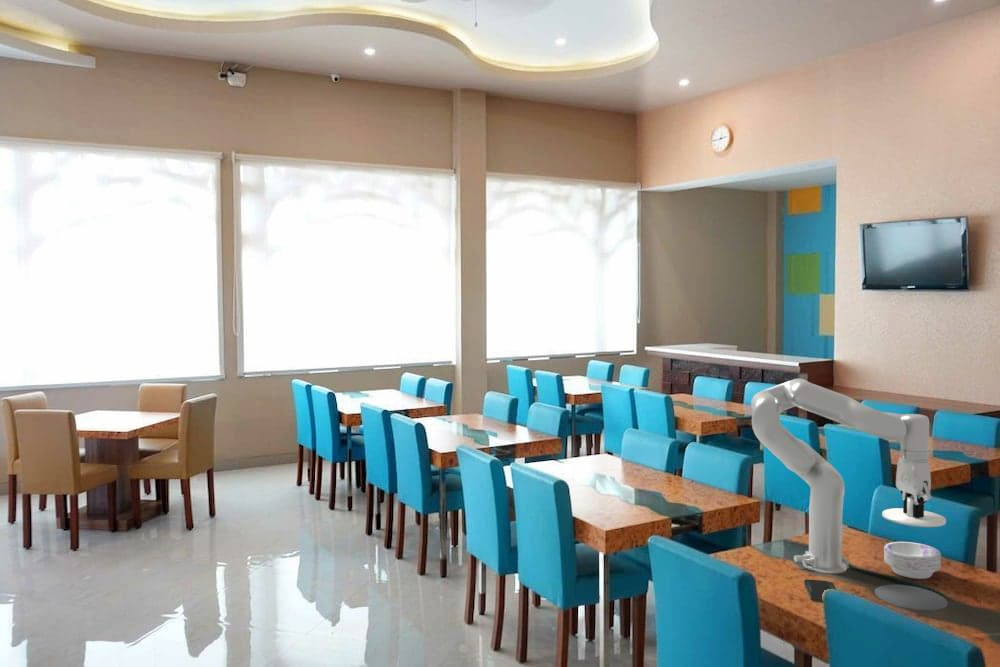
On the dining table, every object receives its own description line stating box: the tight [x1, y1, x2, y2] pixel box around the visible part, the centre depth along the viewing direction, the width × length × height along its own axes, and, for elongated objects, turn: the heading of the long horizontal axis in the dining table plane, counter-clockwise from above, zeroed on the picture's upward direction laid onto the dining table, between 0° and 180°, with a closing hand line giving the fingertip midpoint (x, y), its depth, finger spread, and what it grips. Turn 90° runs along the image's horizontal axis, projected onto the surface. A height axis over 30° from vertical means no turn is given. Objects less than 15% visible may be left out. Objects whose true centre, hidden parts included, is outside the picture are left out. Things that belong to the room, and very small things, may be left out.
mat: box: [874, 584, 948, 611], centre depth 212 cm, size 18×18×1 cm
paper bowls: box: [883, 541, 942, 580], centre depth 231 cm, size 15×15×8 cm
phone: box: [804, 578, 836, 603], centre depth 217 cm, size 8×1×15 cm
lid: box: [881, 496, 947, 528], centre depth 230 cm, size 17×17×6 cm
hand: (913, 514), depth 230 cm, fingers closed on lid, 3 cm apart
